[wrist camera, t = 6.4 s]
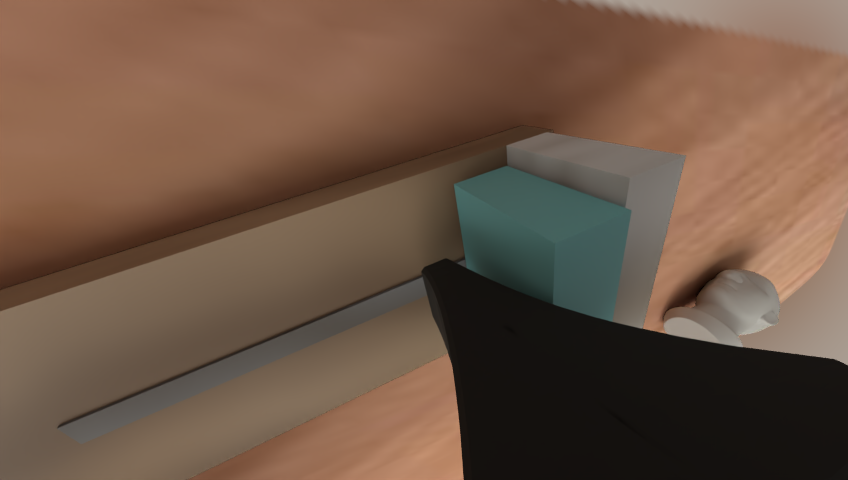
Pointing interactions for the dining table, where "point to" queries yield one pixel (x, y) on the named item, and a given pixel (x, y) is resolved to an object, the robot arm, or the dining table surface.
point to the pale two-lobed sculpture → (727, 309)
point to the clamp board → (274, 312)
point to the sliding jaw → (544, 239)
